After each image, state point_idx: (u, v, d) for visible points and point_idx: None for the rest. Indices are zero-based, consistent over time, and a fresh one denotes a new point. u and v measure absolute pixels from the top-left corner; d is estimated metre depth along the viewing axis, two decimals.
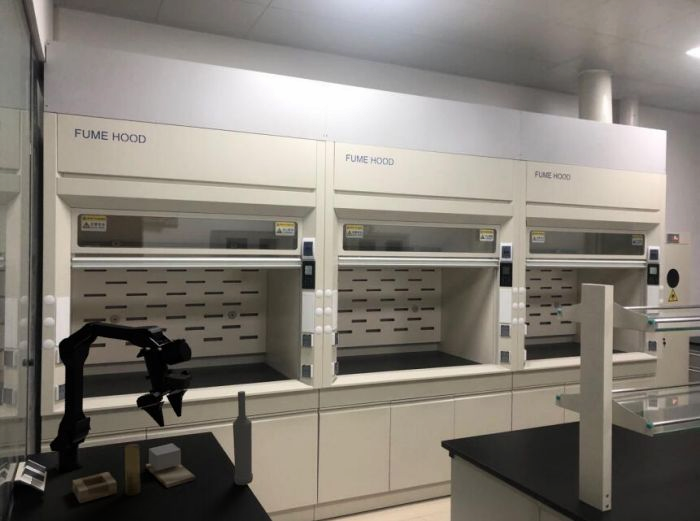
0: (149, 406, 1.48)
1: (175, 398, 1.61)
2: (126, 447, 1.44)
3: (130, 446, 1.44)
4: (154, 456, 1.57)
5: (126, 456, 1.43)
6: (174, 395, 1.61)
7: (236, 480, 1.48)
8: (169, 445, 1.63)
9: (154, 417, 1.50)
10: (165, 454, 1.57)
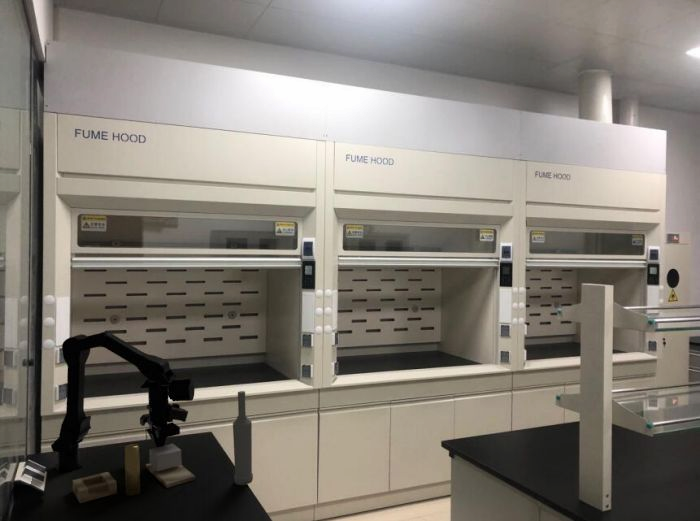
0: None
1: None
2: (126, 447, 1.44)
3: (130, 446, 1.44)
4: (155, 456, 1.56)
5: (126, 456, 1.43)
6: None
7: (236, 480, 1.48)
8: (170, 446, 1.62)
9: (158, 444, 1.62)
10: (166, 454, 1.56)
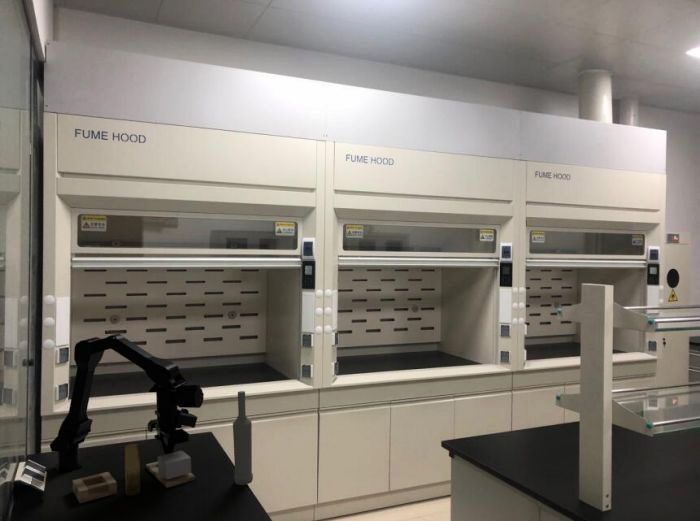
0: None
1: None
2: (126, 447, 1.44)
3: (130, 446, 1.44)
4: (163, 464, 1.50)
5: (126, 456, 1.43)
6: None
7: (236, 480, 1.48)
8: (179, 453, 1.56)
9: (166, 451, 1.56)
10: (175, 462, 1.50)
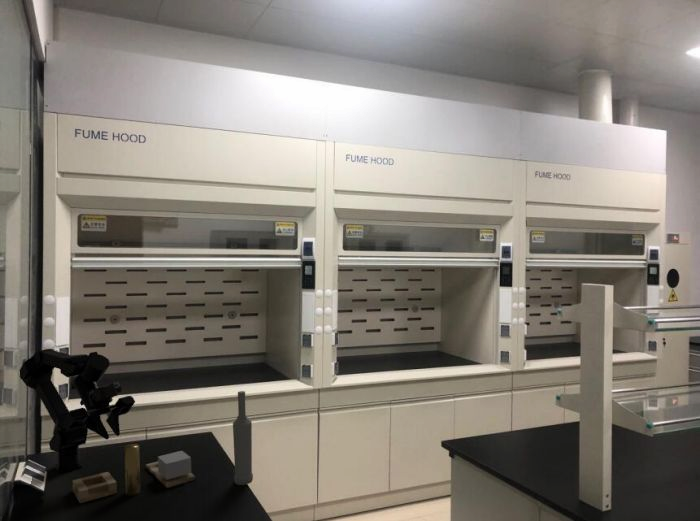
0: (85, 421, 1.48)
1: (111, 418, 1.53)
2: (126, 447, 1.44)
3: (130, 446, 1.44)
4: (163, 464, 1.50)
5: (126, 456, 1.43)
6: (110, 416, 1.54)
7: (236, 480, 1.48)
8: (179, 453, 1.56)
9: (97, 432, 1.49)
10: (175, 462, 1.50)
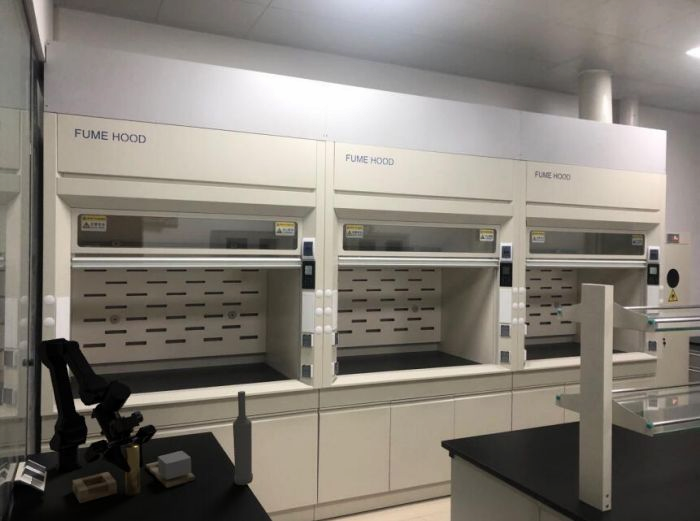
0: (105, 454, 1.42)
1: None
2: (126, 447, 1.44)
3: (130, 446, 1.44)
4: (163, 464, 1.50)
5: (126, 456, 1.43)
6: None
7: (236, 480, 1.48)
8: (179, 453, 1.56)
9: (118, 464, 1.43)
10: (175, 462, 1.50)
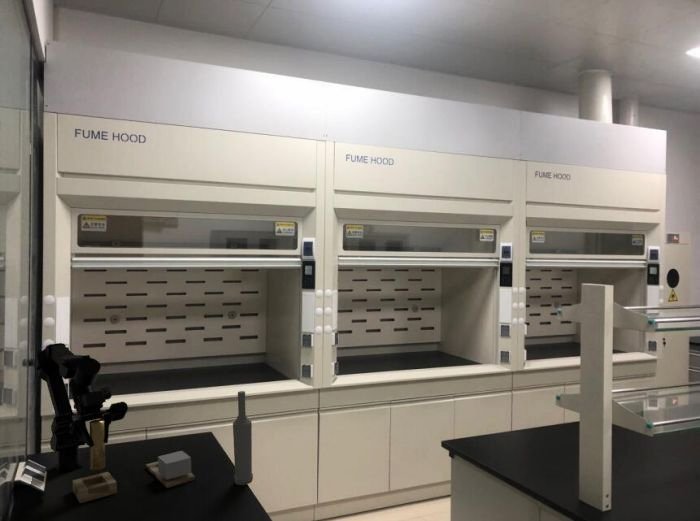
0: (71, 427, 1.44)
1: None
2: (91, 422, 1.44)
3: (95, 421, 1.45)
4: (163, 464, 1.50)
5: (90, 431, 1.44)
6: None
7: (236, 480, 1.48)
8: (179, 453, 1.56)
9: (82, 439, 1.44)
10: (175, 462, 1.50)
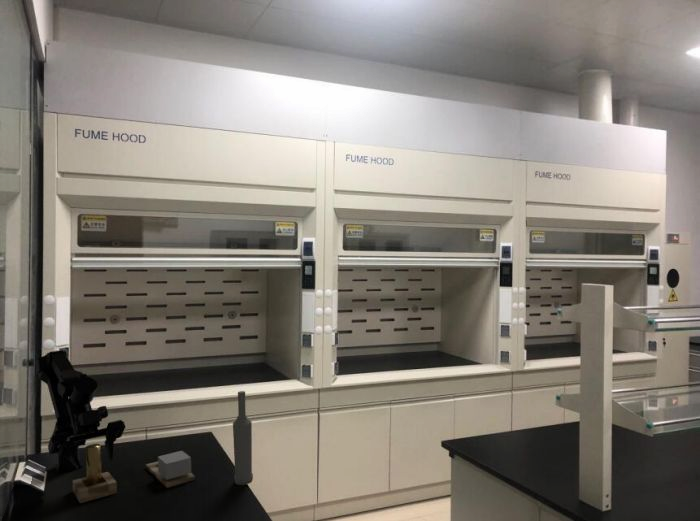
0: (59, 448, 1.43)
1: (107, 441, 1.50)
2: (87, 447, 1.45)
3: (91, 446, 1.45)
4: (163, 464, 1.50)
5: (86, 456, 1.44)
6: (106, 439, 1.51)
7: (236, 480, 1.48)
8: (179, 453, 1.56)
9: (70, 460, 1.43)
10: (175, 462, 1.50)
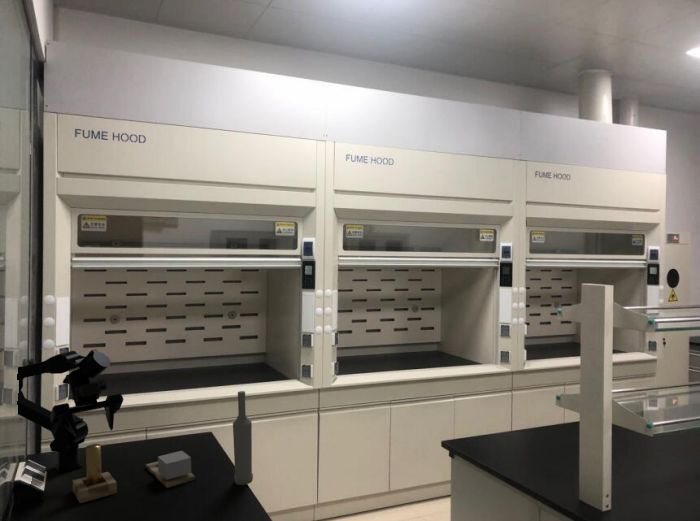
0: (58, 419, 1.50)
1: (108, 413, 1.59)
2: (87, 447, 1.45)
3: (91, 446, 1.45)
4: (163, 464, 1.50)
5: (86, 456, 1.44)
6: (107, 410, 1.59)
7: (236, 480, 1.48)
8: (179, 453, 1.56)
9: (69, 430, 1.51)
10: (175, 462, 1.50)
